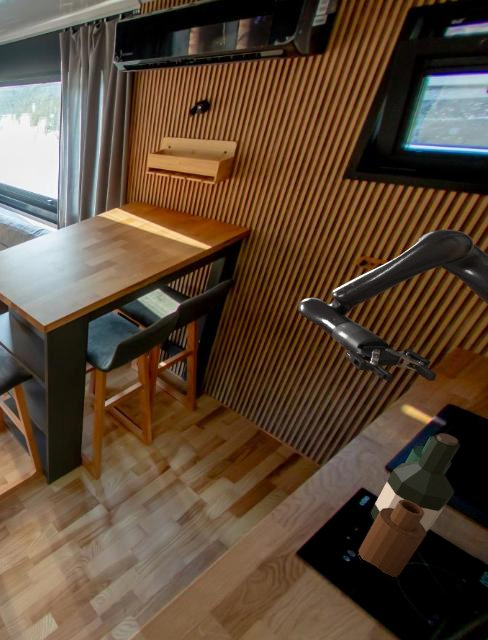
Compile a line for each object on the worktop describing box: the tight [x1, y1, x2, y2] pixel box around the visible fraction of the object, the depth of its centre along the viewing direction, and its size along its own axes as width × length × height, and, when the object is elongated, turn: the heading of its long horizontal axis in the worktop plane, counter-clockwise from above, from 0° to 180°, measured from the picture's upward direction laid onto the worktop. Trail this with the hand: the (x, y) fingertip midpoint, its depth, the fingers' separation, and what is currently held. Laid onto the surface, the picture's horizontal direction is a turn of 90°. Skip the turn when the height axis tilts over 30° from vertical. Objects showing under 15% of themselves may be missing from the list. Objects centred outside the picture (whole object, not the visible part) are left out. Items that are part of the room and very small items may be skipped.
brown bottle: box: [358, 500, 427, 578], centre depth 76 cm, size 6×6×20 cm
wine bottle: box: [370, 432, 461, 535], centre depth 79 cm, size 8×8×30 cm
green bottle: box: [404, 435, 452, 475], centre depth 87 cm, size 6×6×18 cm
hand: (411, 378), depth 89 cm, fingers open, 8 cm apart
